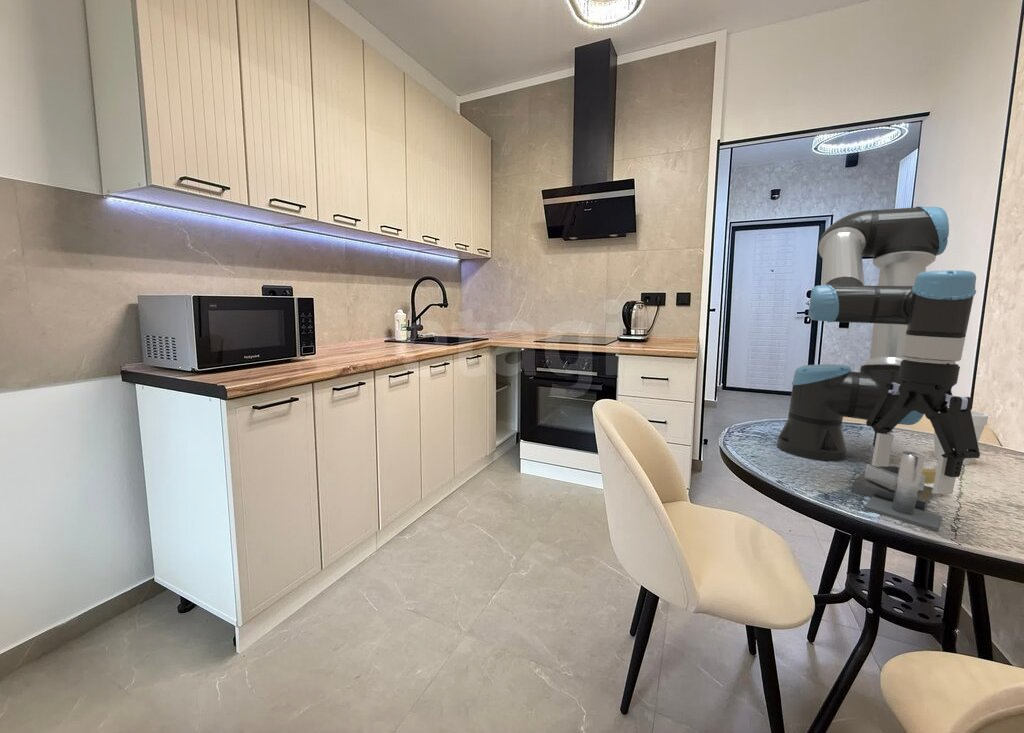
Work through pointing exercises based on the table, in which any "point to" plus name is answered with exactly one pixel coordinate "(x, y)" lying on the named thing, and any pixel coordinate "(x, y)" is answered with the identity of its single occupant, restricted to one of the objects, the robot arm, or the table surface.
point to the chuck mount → (887, 491)
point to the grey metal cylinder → (908, 482)
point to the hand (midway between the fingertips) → (908, 478)
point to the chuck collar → (895, 475)
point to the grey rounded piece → (979, 425)
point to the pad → (917, 518)
